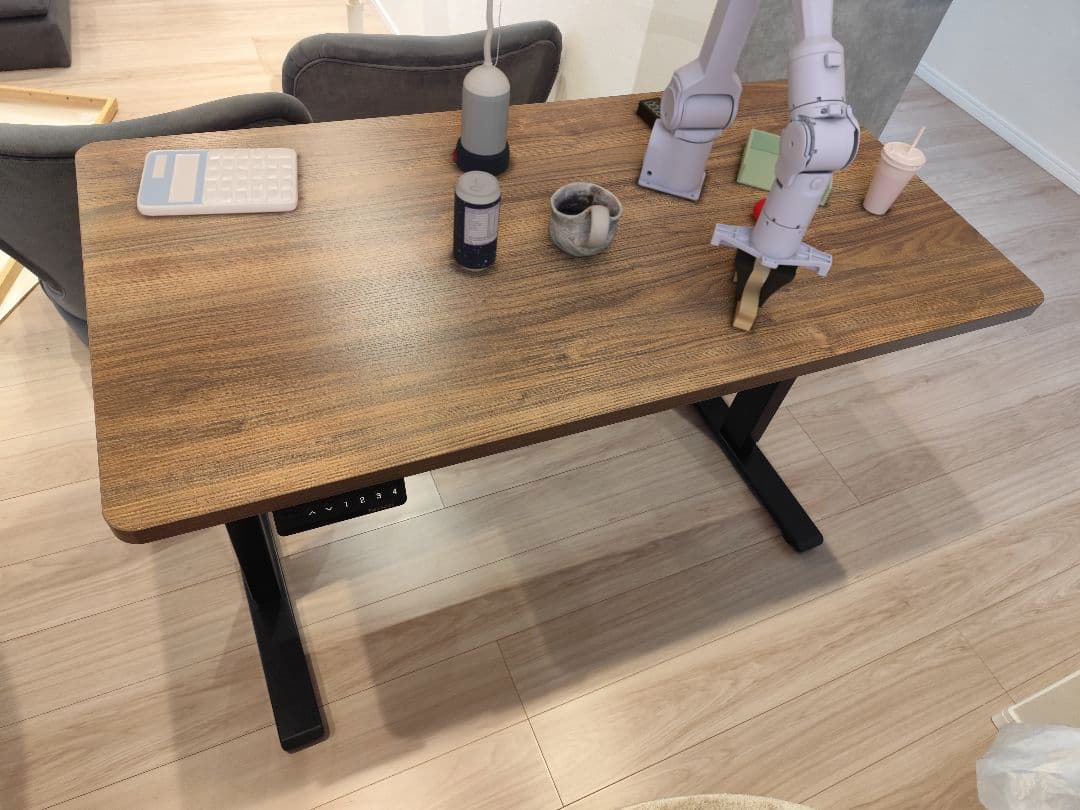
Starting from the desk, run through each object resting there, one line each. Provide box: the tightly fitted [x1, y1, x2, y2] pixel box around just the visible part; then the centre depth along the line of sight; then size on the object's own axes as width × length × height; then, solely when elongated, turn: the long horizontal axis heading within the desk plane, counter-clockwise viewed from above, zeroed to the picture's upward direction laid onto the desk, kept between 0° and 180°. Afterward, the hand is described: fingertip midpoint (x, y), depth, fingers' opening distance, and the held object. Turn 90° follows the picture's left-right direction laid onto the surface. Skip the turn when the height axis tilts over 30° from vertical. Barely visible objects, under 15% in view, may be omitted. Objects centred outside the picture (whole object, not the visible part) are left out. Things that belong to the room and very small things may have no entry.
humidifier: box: [452, 0, 511, 177], centre depth 102 cm, size 8×8×25 cm
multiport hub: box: [636, 96, 662, 130], centre depth 123 cm, size 4×11×2 cm, turn 28°
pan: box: [736, 128, 835, 206], centre depth 121 cm, size 20×14×3 cm
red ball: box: [752, 197, 767, 221], centre depth 109 cm, size 4×4×4 cm
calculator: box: [136, 147, 299, 217], centre depth 100 cm, size 13×20×2 cm, turn 102°
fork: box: [732, 258, 771, 332], centre depth 99 cm, size 17×4×3 cm, turn 163°
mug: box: [547, 181, 624, 257], centre depth 97 cm, size 10×12×10 cm
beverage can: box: [452, 171, 502, 272], centre depth 93 cm, size 6×6×12 cm
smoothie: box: [862, 125, 927, 216], centre depth 111 cm, size 6×6×14 cm
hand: (748, 299), depth 96 cm, fingers closed
